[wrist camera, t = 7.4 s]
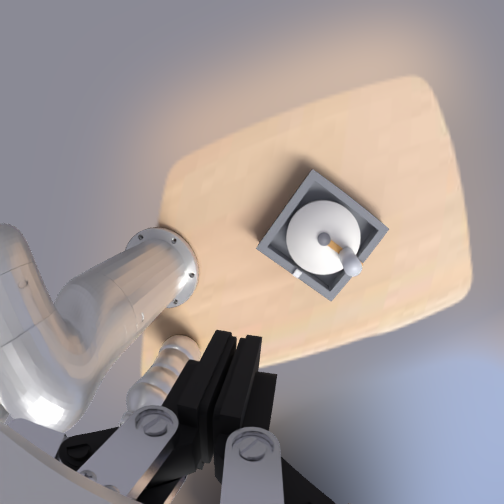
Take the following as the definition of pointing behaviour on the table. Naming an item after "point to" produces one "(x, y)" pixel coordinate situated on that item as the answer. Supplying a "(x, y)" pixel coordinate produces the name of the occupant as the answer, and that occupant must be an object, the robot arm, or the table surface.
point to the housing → (307, 192)
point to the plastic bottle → (161, 374)
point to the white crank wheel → (324, 238)
